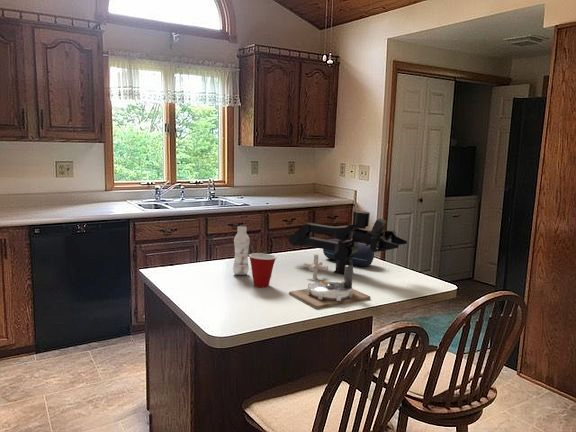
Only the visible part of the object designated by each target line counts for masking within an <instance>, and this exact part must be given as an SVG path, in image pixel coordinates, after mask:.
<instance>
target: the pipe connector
mask: <svg viewBox="0 0 576 432" xmlns="http://www.w3.org/2000/svg"><path fill="white" fill-rule="evenodd" d="M303 268H308V270H309V271H310V272H312V279H313V280H317V279H318V271H319V270H320V271H321V270H323V271H328V269H329V267H328V265H323V262H322V261H319V254H318V253H314V254H313V263H311V262H303Z"/></svg>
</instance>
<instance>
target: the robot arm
mask: <svg viewBox="0 0 576 432" xmlns="http://www.w3.org/2000/svg"><path fill="white" fill-rule="evenodd" d="M352 213H353V214H352V215H353V218H352V224H349V225H340V226H332V225H326V224H318V223H314V222H308V223H307V222H306V223H304V225H302V226H301V227H300V228H299V229H298V230H296V231H295V232H293V233H290V234H289V236H288V242H289V246H292V247H304V246H306V247H312V248H316V249H321V250H323V249H325V250H330V251H334V252H336V253H335V254H334V257H335V259H336V260H335V270H334V271H333V273H334V274H335V273H336V274H341V275H344V273H345V265H353V266H354V264H353V263H352V259H351V258H353V257H354V255H355V254H356V253H357V252H358V246H357V245H358V243H360V244H365V245H366V246H370V250H371V251H372V252H374V253H381V252H384V251H389V250H393V249H398V248H399V246H401V245H406V244H407V243H408V241H407V240H406V239H404V238H402V237H401V236H398V235H397V234H396V231H395V230H394V229H388V230H387V231H384V229H385V226H386V225H387V224H388V222H387V221H386V219H385V218H383V219H382V218H378V219H376V220H375V222H374V223H373V226H372V227H371V230H367V227H369V224H370V217H371V214H370V213H371V211H370V212H369V211H365V210H364V211H360V210H359V211H357V210H355V211H353V212H352ZM311 234H318V235H323V236H329V237H333V239H338V240H339V241H338V242H335V241H330V239H324V238H319V237H314V236H311Z"/></svg>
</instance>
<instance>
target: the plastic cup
mask: <svg viewBox="0 0 576 432" xmlns="http://www.w3.org/2000/svg"><path fill="white" fill-rule="evenodd" d="M248 257H249V260H250V267H251V275H252V276H251V277H252V282H253V286H254V287H257V288H267V287H269V285H270V282H271V278H272V273H273V269H274V264H275V261H276V259H277V256H276V255H274V254H270V253H259V252H258V253H257V252H256V253H255V252H254V253H250V254H249V253H248Z"/></svg>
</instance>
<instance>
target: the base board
mask: <svg viewBox="0 0 576 432" xmlns="http://www.w3.org/2000/svg"><path fill="white" fill-rule="evenodd" d="M340 283H341V284H344V280H343V281H341V282H340ZM352 292H353V295H352V298H348V299H344V300H341V301H336V300H320V299H318V298H315V297H313V296H311V295H308V294H307V288H304V289H297V290H291V291H289V292H288V295H289V296H290V297H291V296H292V297H293V298H295V299H297V300H299V301H301V302H302V303H304V304H306V305H308V306H309V305H310V306H309V307H312V309H315V310H317V309H318V310H319V309H323V308H328V307H335V306H340V305H345V304H346V305H347V304H352V303H358V302H361V301H362V302H363V301H367V300H368V301H369V300H371V296H370V295H369V294H368V295H367V294H365V293H364V292H361V291H359V290H356V289H354V288H352Z"/></svg>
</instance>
